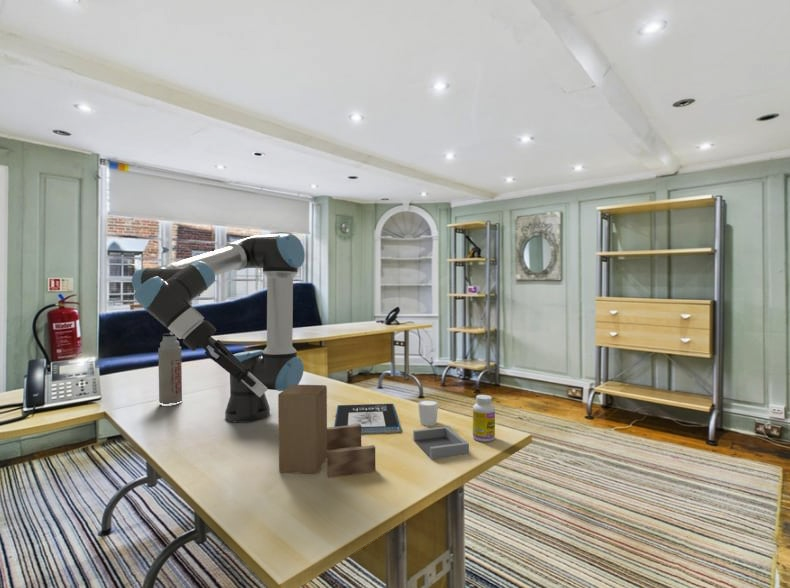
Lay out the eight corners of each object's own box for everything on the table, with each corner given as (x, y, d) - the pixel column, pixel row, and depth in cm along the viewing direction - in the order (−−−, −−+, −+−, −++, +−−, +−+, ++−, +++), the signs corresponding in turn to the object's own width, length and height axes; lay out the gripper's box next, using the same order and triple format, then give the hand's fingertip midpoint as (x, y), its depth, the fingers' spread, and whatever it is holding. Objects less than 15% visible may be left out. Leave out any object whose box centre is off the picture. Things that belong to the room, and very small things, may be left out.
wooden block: (327, 457, 111) (327, 384, 111) (317, 474, 101) (316, 394, 101) (292, 456, 112) (291, 384, 112) (278, 472, 102) (277, 393, 102)
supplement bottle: (488, 444, 120) (488, 401, 120) (468, 438, 125) (468, 397, 124) (498, 438, 125) (499, 396, 125) (479, 432, 129) (479, 392, 129)
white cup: (442, 422, 139) (442, 402, 139) (430, 428, 134) (429, 406, 134) (426, 418, 144) (426, 398, 143) (414, 423, 139) (413, 402, 138)
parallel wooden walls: (327, 477, 100) (327, 453, 100) (319, 449, 117) (319, 428, 117) (375, 470, 103) (375, 447, 103) (360, 444, 121) (360, 424, 120)
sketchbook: (393, 406, 159) (393, 401, 159) (401, 435, 130) (401, 428, 130) (337, 408, 157) (337, 402, 157) (333, 437, 128) (333, 430, 128)
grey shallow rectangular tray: (431, 459, 110) (431, 448, 110) (413, 440, 124) (413, 430, 123) (468, 454, 113) (468, 443, 113) (447, 435, 127) (447, 426, 127)
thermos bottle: (186, 402, 163) (185, 332, 163) (166, 407, 157) (165, 335, 156) (175, 399, 168) (173, 331, 167) (155, 404, 161) (153, 333, 160)
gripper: (186, 338, 107) (253, 397, 111) (175, 343, 94) (251, 410, 99) (209, 317, 108) (274, 377, 113) (201, 320, 96) (274, 387, 101)
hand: (263, 392), depth 106 cm, fingers closed
